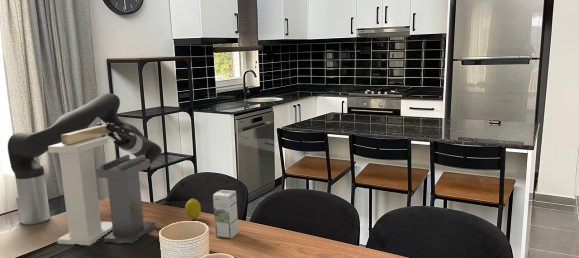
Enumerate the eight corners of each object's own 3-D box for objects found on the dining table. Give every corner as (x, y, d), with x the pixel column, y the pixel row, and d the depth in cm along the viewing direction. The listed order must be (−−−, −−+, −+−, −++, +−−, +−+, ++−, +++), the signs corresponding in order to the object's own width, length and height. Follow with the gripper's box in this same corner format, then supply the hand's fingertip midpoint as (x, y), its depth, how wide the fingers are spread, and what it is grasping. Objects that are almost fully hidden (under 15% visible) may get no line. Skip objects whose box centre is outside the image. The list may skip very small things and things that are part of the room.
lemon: (203, 216, 159) (201, 195, 158) (198, 222, 154) (197, 200, 152) (188, 216, 160) (187, 196, 158) (183, 222, 154) (182, 200, 153)
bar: (62, 144, 136) (60, 134, 135) (108, 131, 159) (107, 123, 158) (70, 144, 135) (69, 134, 135) (115, 131, 158) (114, 123, 158)
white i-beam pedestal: (57, 243, 140) (45, 146, 135) (89, 225, 155) (79, 137, 150) (90, 245, 137) (79, 146, 132) (119, 226, 153) (110, 137, 148)
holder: (103, 242, 139) (95, 165, 135) (129, 225, 154) (122, 154, 150) (132, 244, 137) (124, 165, 133) (155, 226, 152) (149, 155, 148)
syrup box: (239, 232, 143) (236, 190, 141) (231, 239, 138) (228, 195, 136) (223, 230, 145) (221, 188, 143) (215, 237, 140) (212, 194, 138)
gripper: (114, 132, 172) (87, 115, 156) (146, 132, 169) (122, 115, 153) (110, 150, 169) (82, 135, 153) (143, 150, 166) (118, 135, 150)
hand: (102, 125), depth 153 cm, fingers closed on bar, 3 cm apart
